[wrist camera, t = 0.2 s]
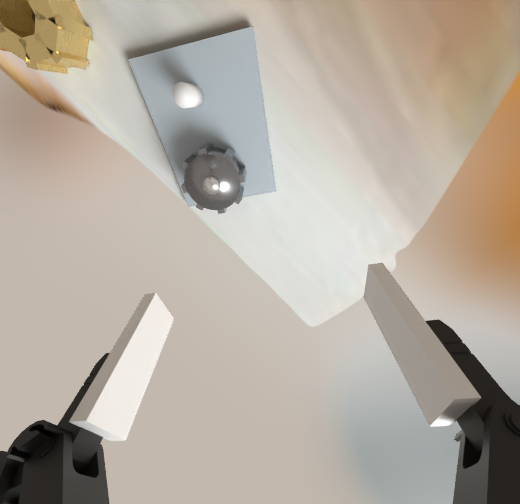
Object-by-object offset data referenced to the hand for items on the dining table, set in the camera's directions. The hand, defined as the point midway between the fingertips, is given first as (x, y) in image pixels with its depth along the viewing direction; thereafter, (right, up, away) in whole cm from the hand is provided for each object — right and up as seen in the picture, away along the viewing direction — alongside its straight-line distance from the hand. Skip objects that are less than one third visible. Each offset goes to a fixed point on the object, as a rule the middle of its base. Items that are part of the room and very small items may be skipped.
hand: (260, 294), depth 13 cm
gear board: (-7, +21, +19) cm, 29 cm away
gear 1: (-25, +30, +12) cm, 41 cm away
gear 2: (-7, +15, +21) cm, 27 cm away
